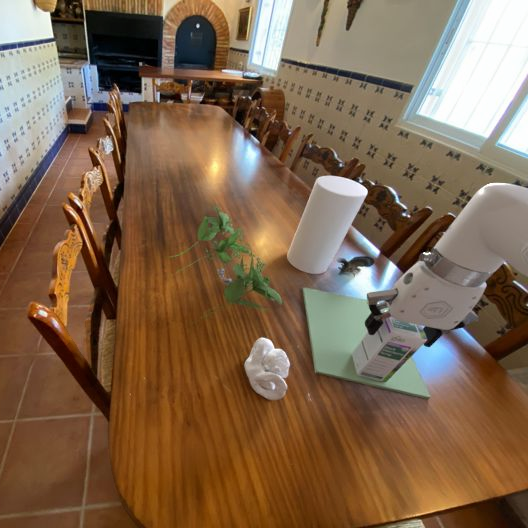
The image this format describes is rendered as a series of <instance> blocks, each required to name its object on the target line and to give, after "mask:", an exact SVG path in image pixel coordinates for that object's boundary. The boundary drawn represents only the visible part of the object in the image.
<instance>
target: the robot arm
mask: <svg viewBox="0 0 528 528" xmlns="http://www.w3.org/2000/svg"><path fill="white" fill-rule="evenodd" d="M505 262H506V263H507V264H508V265H510V266H511V267H512V268H514V269H515V271H518V272H519V273H520V274H522V275H524V276H525V277H527V278H528V187H524V186H521V185H517V184H513V183H504V182H493V183H489V184H486V185H483V186H482V187H481V188H480V189H478V190H477V191H476V192H475V193H474V194H473V196H472V197H471V198H470V200H469V201H468V202H467V204H466V205H465V206H464V207H463V209H462V210H461V212H460V213H459V214H458V215H457V216H456V217H455V219H454V221H453V222H452V223H451V224H450V226H449V227H448V228H447V229H446V231H445V232H444V233H443V234H442V236H441V237H440V238H439V240H438V241H437V242H436V244H435V245H433V247H432V248H431V249H430V251H429V252H421V253H420V254H419V255H418V261H416V263H415V264H413V265H412V266H411V267H409V269H408V270H406V271H405V273H403V275H402V276H400V278H399V279H398V280H397V281H396V282H395V283H394V285H393V286H392V287H391V288H390V289H385V290H384V289H383V290H377V291H369V292H367V293H366V300H367V304H368V306H369V309H370V311H371V314H370V315H369V316H368V318H367V319H366V320H365V326H366V328H367V330H368V333H369V335H374V334H375V333H376V332H377V331H378V329H379V328H380V327H381V326H382V324H383V319H386V318H389V317H392V318H394V319H396V320H398V321H402V322H407V323H412V324H417V325H421V326H422V328H423V331H424V333H425V335H426V338H427V341H426V342H425V343H424V344H423V346H424V347H425V348H431V347H432V346H433V345H434V344H435V343H436V342H437V341H438V340H439V339H440V338H441V337H442V336H443V335H449V334H451V333H452V331H456V330H459V329H463V328H465V327H466V325H470V324H472V323H474V322H477V321H479V319H480V318H479V317H478V315H477V314H476V312H475V311H473V309H474V307H475V306H476V305H477V304H478V302H479V300H480V299H481V298H482V296H483V294H484V292H485V290H486V288H487V283H486V282H487V281H488V279H489V278H490V277H491V276H492V275H493V274H494V273H495V272H496V271H497V270H498V269H500V268H501V266H502V265H504V263H505ZM377 302H380V303H378V304H377ZM385 308H388V309H389V310H387V311H384V312H382V313H381V311H380V310H382V309H385Z"/></svg>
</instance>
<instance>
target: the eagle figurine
mask: <svg viewBox="0 0 528 528" xmlns="http://www.w3.org/2000/svg"><path fill="white" fill-rule="evenodd" d="M336 262H337V263H339V264H340V265H341V266H342V267H341V266H338V269H339V270H340V271H339V273H338V275H339V276H340V275H343V274H345V273H351V274H352V276H353V278H356V275H357V273H356V269H357V270H358V271H362V269H361V268H370V267H372V266H374V265H375V258H374V257H371V256H368V255H361V256H360V255H359V256H354V257H353V258H351V259H349V260H347V259H346V258H344V257H337V258H336Z"/></svg>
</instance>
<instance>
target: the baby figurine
mask: <svg viewBox="0 0 528 528" xmlns="http://www.w3.org/2000/svg"><path fill="white" fill-rule="evenodd" d="M249 352H250V354H249V356H248V358H247V359H246V360H245V362H244V364H243V365H244V371H245V373H246V374H245V375H246V376H247V378H248V382H249V384H250V386H251V388H252V389H253V390H254V391H255V393H256V394H257V395H258V394H259V395H260V396H261V397H263V398H265V399H267V400H269V401H279V400H282V398H284V397H285V395H286V392H287V390H288V385H287V383H286V381H285V379H286V378H288V376H289V369H290V367H291V362H290V360H289V357H288V356H287V353H286V352H285V351H284V350H283V349H282V348H275V345H274V344H273V342H272V340H270V339H268V338H267V337H259V338H258V339H257V340H256V341H254V343H253V346H252V348H251V351H249Z"/></svg>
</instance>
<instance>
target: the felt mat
mask: <svg viewBox="0 0 528 528" xmlns="http://www.w3.org/2000/svg"><path fill="white" fill-rule="evenodd" d="M302 296H303V303H304V309H305V314H306V316H305V317H306V322H307V328H308V334H309V341H310V347H311V354H312V360H313V366H314V368H313V369H314V373H315V374H318V375H321V376H326V377H331V378H335V379H339V380H344V381H348V382H352V383H356V384H361V385H365V386H369V387H374V388H376V389H377V388H378V389H381V390H382V389H383V390H387V391H390V392H394V393H395V392H396V393H399V394H400V393H401V394H403V395H409V396H413V397H416V398H421V399H425V400H429V399H431V398H432V397H431V395H430V393H429V390H428V388H427V386H426V383H425V381H424V379H423V377H422V375H421V373H420V371H419V369H418V367H417V364H416V362H415V360H414V358H413V355H412V356H411V357H410V358H409V359H408V360H407V361H406V363H405V364H403V366H402V367H401V368H400V369H399V370H398V371H397V372H396V373H395V374H394V375H393V376H392V377H391V378H390V379H389V380H388V381H387V382H382V381H378V380H374V379H370V378H366V377H363V376H358V375H357V373H356V369H355V365H354V361H353V356H352V352H353V351H354V349H355V348H356V347H357V346H358V344H359V343H360V341H361V340H362V339H363V337H364V336H365V335H366V333H367V332H368V330H367V328H366V326H365V320H366V319H367V318H368V316H369V315H370V314H371V311H370V309H369V306H368V304H367V299H365V298H359V297H356V296H355V297H354V296H349V295H345V294H340V293H334V292H330V291H329V292H328V291H324V290H320V289H314V288H309V287H304V286H303V287H302ZM378 303H381V301H378V302H377V304H378ZM384 310H385V311H387V310H389V309H388V308H385V309H382V310H380V311H381V313H382V312H383V311H384Z"/></svg>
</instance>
